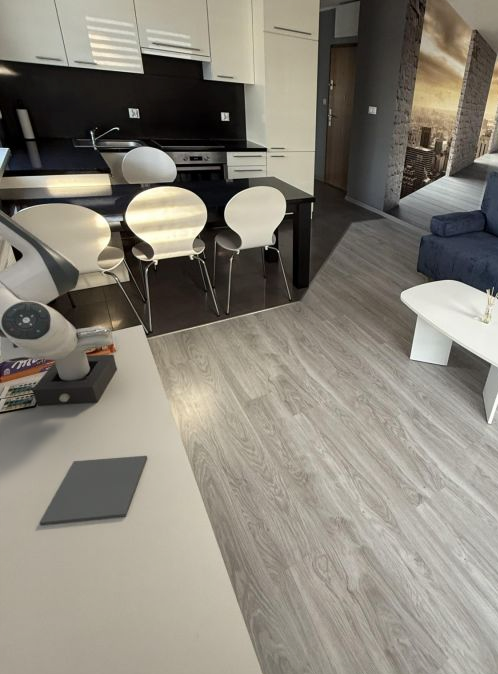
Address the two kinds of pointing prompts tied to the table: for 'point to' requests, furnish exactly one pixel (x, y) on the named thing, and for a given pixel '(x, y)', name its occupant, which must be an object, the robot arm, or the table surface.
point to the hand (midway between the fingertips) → (68, 350)
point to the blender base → (76, 384)
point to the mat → (95, 490)
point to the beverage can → (73, 366)
